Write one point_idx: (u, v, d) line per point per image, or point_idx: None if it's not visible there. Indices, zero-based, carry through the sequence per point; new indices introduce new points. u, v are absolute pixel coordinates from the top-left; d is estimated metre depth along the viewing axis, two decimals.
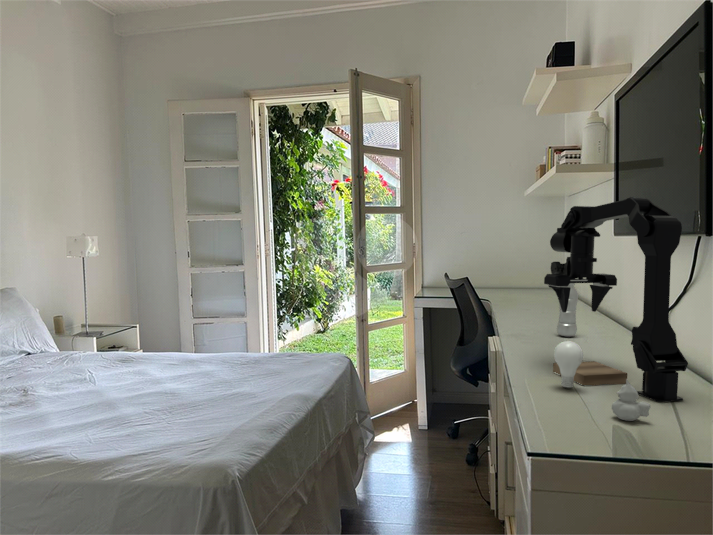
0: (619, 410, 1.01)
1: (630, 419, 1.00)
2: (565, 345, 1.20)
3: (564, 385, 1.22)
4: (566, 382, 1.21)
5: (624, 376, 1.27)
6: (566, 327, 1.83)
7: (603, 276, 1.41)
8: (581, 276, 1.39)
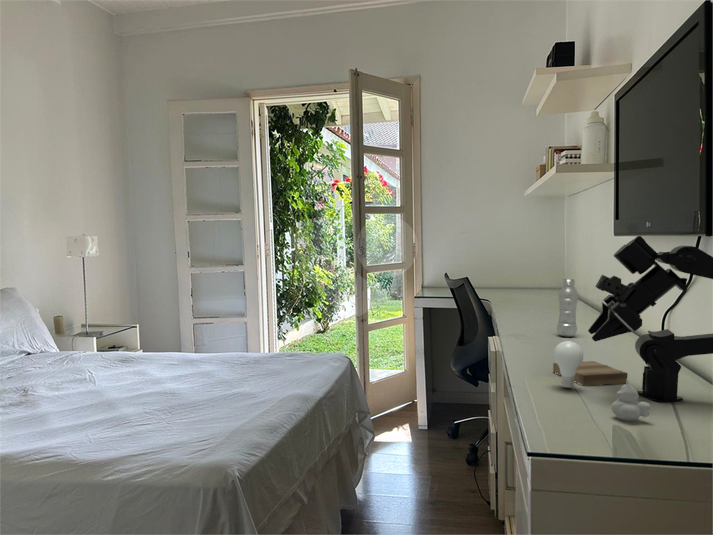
0: (620, 410, 1.01)
1: (630, 419, 1.00)
2: (565, 345, 1.20)
3: (564, 385, 1.22)
4: (566, 382, 1.21)
5: (624, 376, 1.27)
6: (566, 327, 1.83)
7: None
8: None
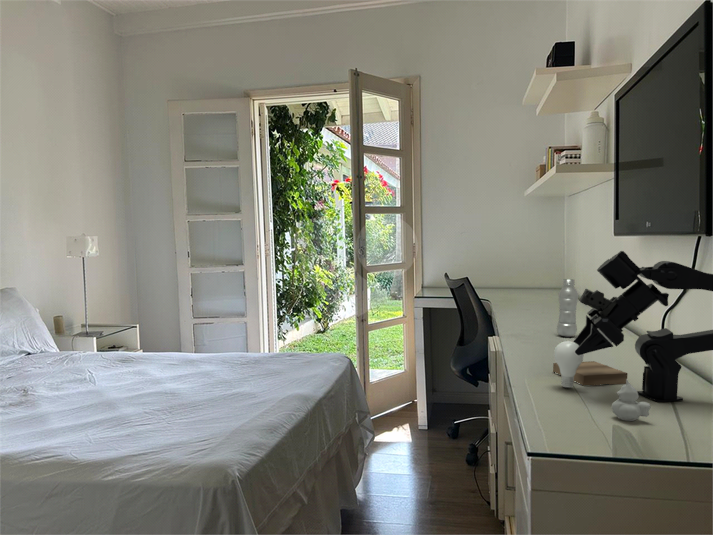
0: (620, 410, 1.01)
1: (630, 419, 1.00)
2: (565, 345, 1.20)
3: (564, 385, 1.22)
4: (566, 382, 1.21)
5: (624, 376, 1.27)
6: (566, 327, 1.83)
7: None
8: None
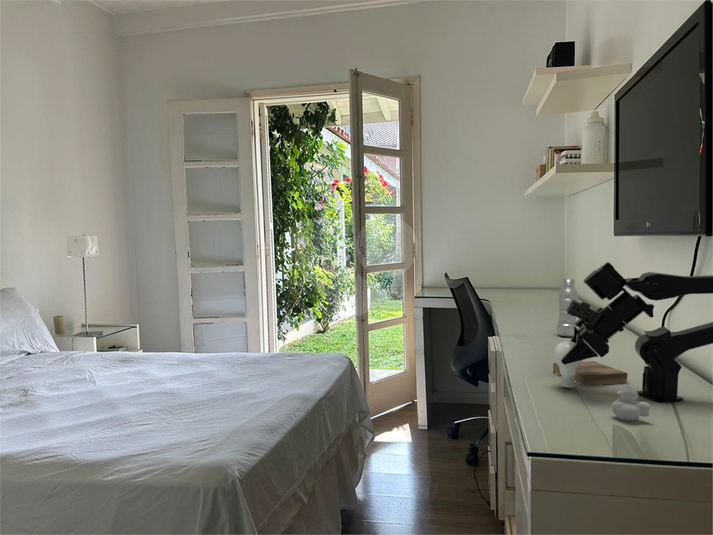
0: (620, 410, 1.01)
1: (630, 419, 1.00)
2: (565, 345, 1.20)
3: (564, 385, 1.22)
4: (566, 382, 1.21)
5: (624, 376, 1.27)
6: (566, 327, 1.83)
7: None
8: None
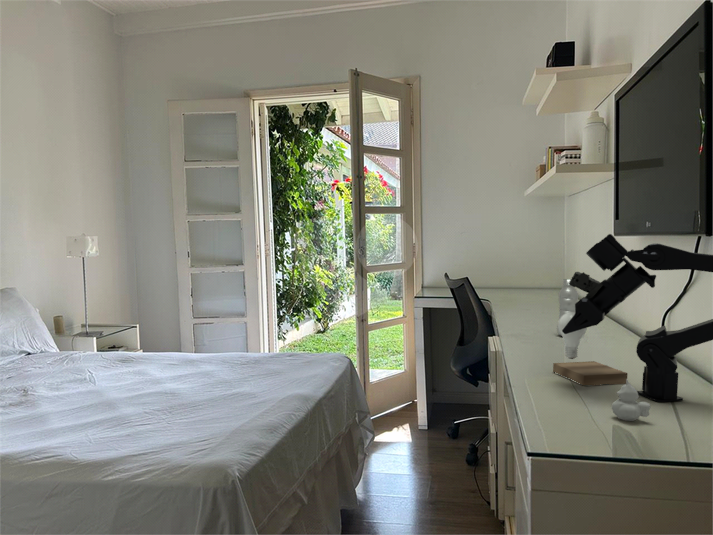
0: (620, 410, 1.01)
1: (630, 419, 1.00)
2: (567, 316, 1.24)
3: (567, 355, 1.25)
4: (569, 352, 1.24)
5: (624, 376, 1.27)
6: None
7: None
8: (607, 313, 1.19)
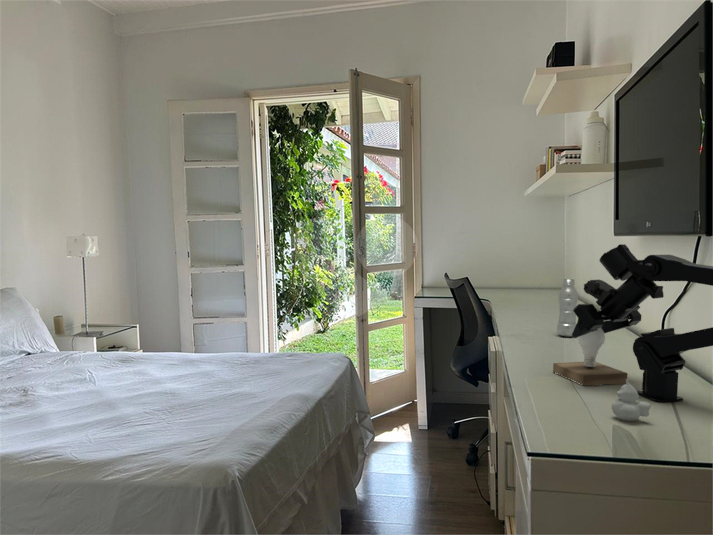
0: (620, 410, 1.01)
1: (630, 419, 1.00)
2: None
3: (584, 364, 1.32)
4: (585, 361, 1.31)
5: (624, 376, 1.27)
6: (566, 327, 1.83)
7: (631, 316, 1.28)
8: (614, 321, 1.23)
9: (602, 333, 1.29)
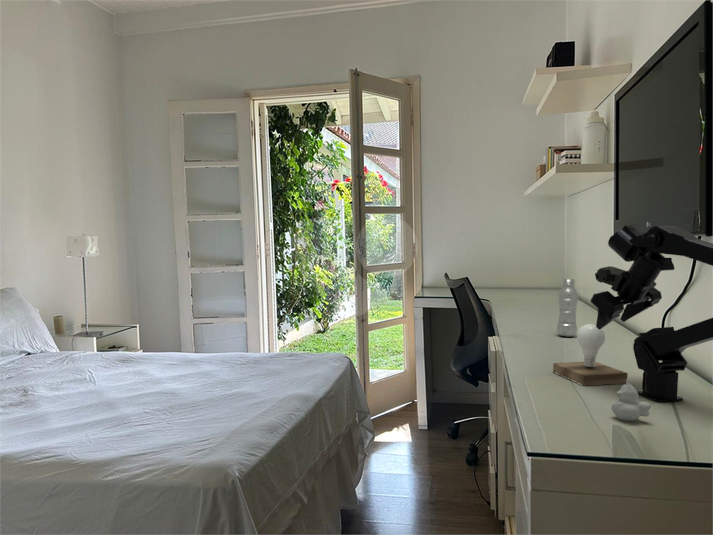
0: (619, 410, 1.01)
1: (630, 419, 1.00)
2: (583, 327, 1.31)
3: (584, 364, 1.32)
4: (585, 361, 1.31)
5: (624, 376, 1.27)
6: (566, 327, 1.83)
7: (650, 295, 1.25)
8: (634, 303, 1.21)
9: (602, 333, 1.29)
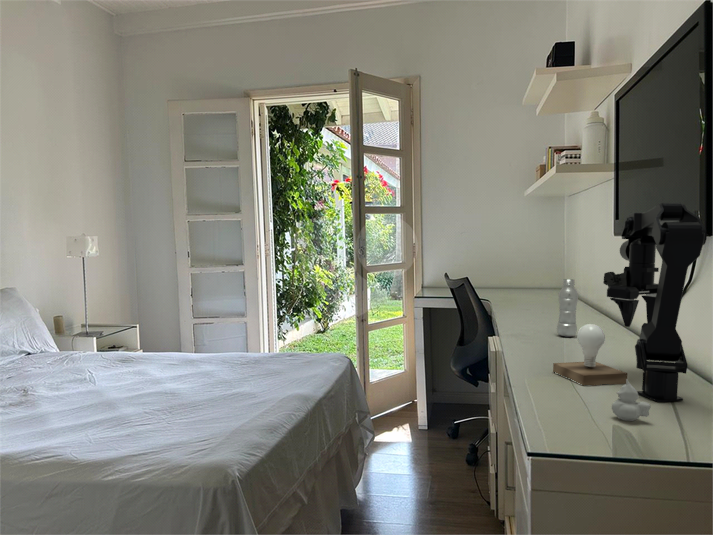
0: (620, 410, 1.01)
1: (630, 419, 1.00)
2: (583, 327, 1.31)
3: (584, 364, 1.32)
4: (585, 361, 1.31)
5: (624, 376, 1.27)
6: (566, 327, 1.83)
7: None
8: (646, 287, 1.29)
9: (602, 333, 1.29)
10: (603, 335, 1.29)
